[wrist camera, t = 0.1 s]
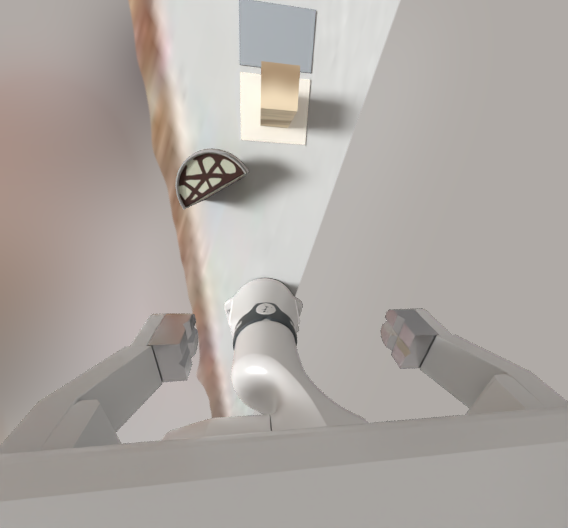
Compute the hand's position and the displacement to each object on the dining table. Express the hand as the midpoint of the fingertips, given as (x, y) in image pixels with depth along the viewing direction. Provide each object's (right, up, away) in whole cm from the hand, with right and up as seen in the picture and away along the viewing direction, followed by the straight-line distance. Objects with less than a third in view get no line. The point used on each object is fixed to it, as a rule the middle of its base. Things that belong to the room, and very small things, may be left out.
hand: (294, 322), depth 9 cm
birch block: (-2, +30, +30) cm, 42 cm away
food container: (-14, +20, +33) cm, 41 cm away
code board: (-2, +35, +28) cm, 45 cm away
